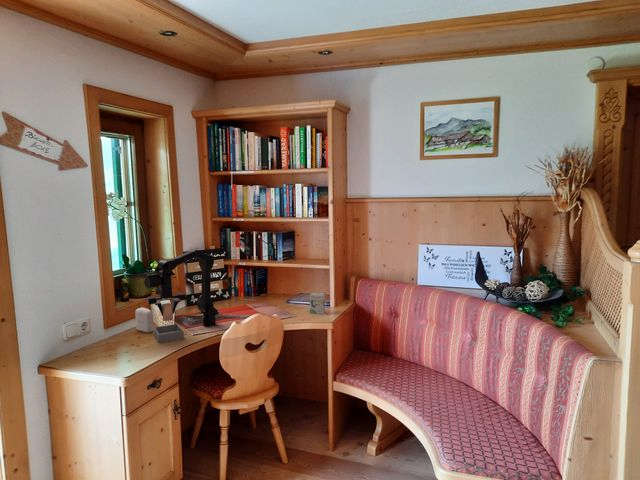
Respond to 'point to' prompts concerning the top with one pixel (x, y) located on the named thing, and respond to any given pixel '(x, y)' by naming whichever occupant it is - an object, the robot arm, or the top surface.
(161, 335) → the bin
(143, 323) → the photo printer
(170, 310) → the terracotta cylinder
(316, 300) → the ink box
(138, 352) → the top surface
